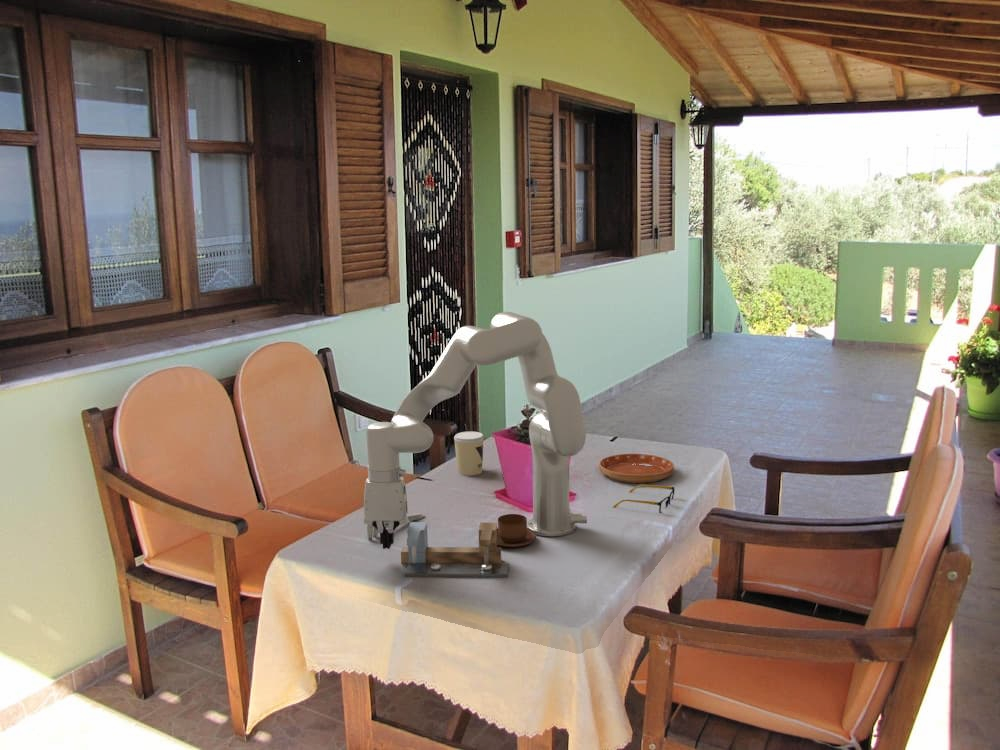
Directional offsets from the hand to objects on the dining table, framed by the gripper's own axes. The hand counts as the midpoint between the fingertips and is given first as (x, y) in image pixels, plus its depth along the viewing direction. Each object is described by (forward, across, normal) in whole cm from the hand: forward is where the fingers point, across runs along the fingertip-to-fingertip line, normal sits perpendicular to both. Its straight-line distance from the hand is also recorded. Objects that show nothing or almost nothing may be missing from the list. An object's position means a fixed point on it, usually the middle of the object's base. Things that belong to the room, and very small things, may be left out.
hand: (387, 546), depth 224 cm
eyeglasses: (+4, -66, -42) cm, 78 cm away
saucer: (+4, -66, -68) cm, 94 cm away
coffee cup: (+4, -14, -70) cm, 71 cm away
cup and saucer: (+4, -30, -13) cm, 33 cm away
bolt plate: (+4, -18, +6) cm, 19 cm away
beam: (+4, -15, +3) cm, 16 cm away
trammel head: (+3, -8, +3) cm, 9 cm away
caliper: (+4, +1, -22) cm, 23 cm away
